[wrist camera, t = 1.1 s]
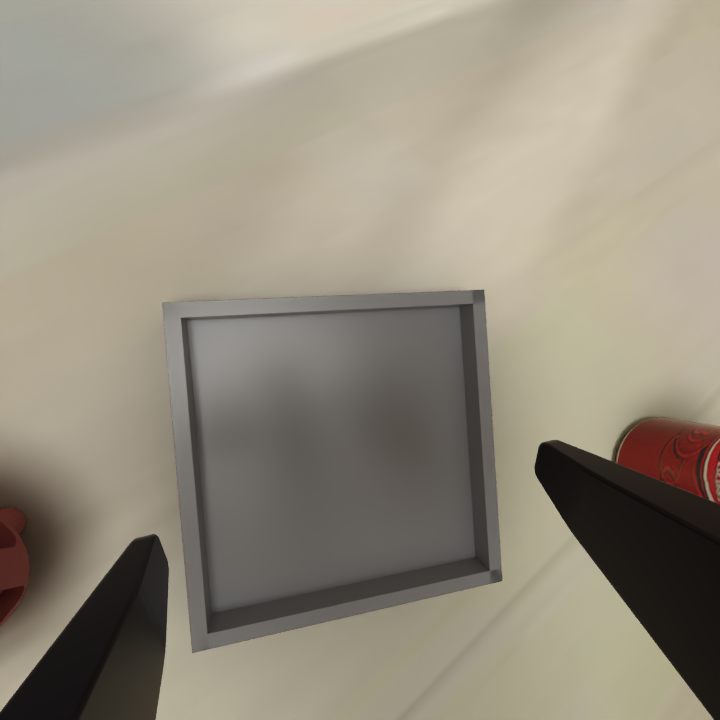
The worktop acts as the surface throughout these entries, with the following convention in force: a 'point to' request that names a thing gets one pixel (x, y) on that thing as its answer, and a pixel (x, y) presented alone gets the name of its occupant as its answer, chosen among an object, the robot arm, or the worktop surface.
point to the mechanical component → (12, 561)
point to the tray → (330, 456)
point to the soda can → (675, 454)
